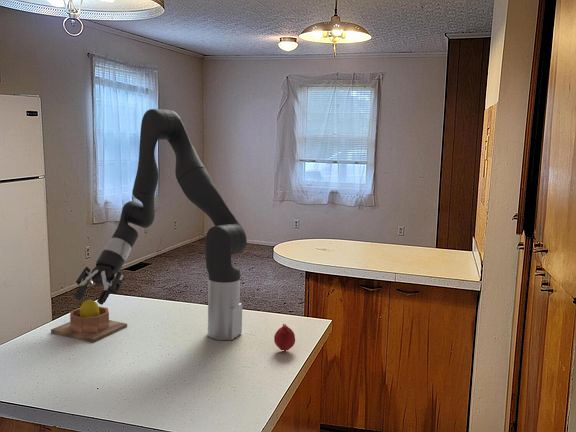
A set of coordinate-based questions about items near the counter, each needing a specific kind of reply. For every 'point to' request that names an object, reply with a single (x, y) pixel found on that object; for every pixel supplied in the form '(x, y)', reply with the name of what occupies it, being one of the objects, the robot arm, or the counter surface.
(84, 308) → the lemon
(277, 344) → the onion
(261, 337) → the counter surface
